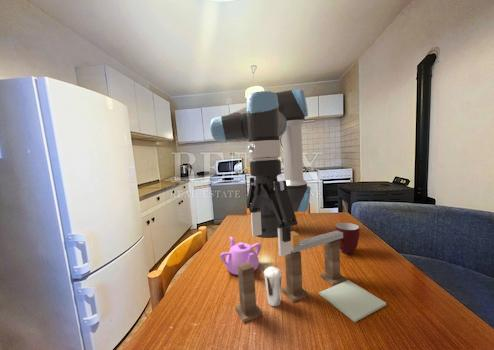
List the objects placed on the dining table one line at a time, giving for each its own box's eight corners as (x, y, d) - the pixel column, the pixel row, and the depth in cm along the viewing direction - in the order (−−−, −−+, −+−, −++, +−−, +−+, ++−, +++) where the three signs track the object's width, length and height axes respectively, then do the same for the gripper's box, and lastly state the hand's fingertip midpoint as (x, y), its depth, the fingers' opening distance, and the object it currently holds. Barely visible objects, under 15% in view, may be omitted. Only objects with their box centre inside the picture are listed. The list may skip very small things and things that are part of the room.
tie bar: (288, 249, 59) (287, 232, 58) (336, 235, 66) (336, 220, 65) (293, 253, 56) (292, 235, 56) (343, 237, 64) (342, 222, 63)
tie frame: (235, 309, 54) (232, 264, 53) (332, 272, 68) (331, 235, 67) (243, 322, 50) (240, 274, 49) (345, 280, 64) (344, 241, 62)
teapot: (254, 281, 66) (253, 253, 65) (215, 274, 71) (213, 248, 70) (266, 261, 77) (264, 238, 76) (231, 257, 82) (229, 234, 81)
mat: (319, 294, 58) (319, 292, 58) (348, 281, 63) (348, 279, 63) (354, 322, 48) (354, 319, 48) (386, 305, 53) (386, 302, 53)
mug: (349, 262, 73) (349, 234, 72) (327, 254, 79) (327, 228, 78) (363, 251, 80) (363, 225, 79) (342, 245, 86) (341, 221, 85)
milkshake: (261, 297, 58) (259, 262, 57) (280, 295, 59) (278, 260, 58) (264, 309, 54) (261, 272, 53) (285, 307, 54) (283, 269, 53)
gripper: (232, 160, 62) (236, 231, 64) (280, 160, 39) (285, 270, 41) (255, 158, 65) (259, 226, 67) (312, 157, 42) (315, 260, 44)
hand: (269, 243), depth 54 cm, fingers open, 13 cm apart
